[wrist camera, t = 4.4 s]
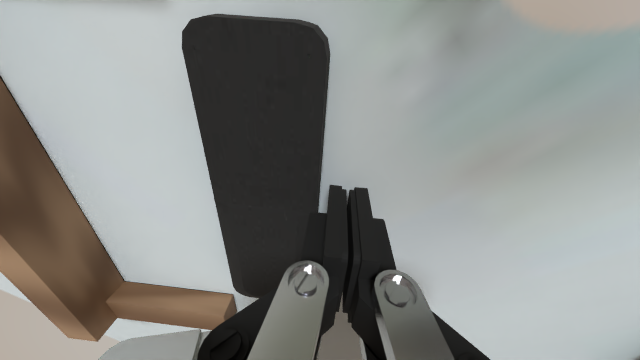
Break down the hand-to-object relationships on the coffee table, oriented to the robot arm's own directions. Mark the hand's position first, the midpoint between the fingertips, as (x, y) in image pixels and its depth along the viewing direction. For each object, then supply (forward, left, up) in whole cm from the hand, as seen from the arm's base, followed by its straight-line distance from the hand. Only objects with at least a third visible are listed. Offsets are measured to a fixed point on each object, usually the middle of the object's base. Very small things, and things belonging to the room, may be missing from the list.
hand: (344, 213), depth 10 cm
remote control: (0, -4, -2) cm, 4 cm away
